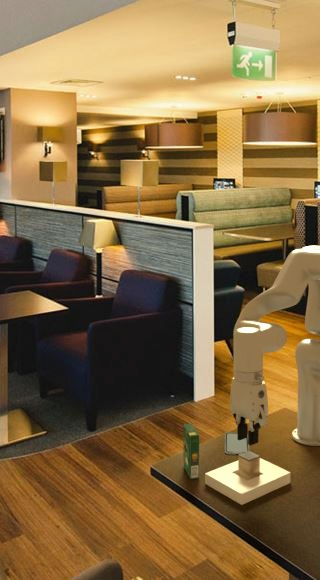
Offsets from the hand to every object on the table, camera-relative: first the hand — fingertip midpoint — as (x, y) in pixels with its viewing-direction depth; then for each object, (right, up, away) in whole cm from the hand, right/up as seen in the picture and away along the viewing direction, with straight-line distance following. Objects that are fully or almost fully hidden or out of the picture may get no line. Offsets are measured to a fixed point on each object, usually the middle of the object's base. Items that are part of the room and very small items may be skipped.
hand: (247, 440), depth 166 cm
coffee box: (-14, -11, +9) cm, 20 cm away
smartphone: (0, -8, +27) cm, 28 cm away
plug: (+1, -12, +2) cm, 12 cm away
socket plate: (0, -12, +2) cm, 12 cm away
